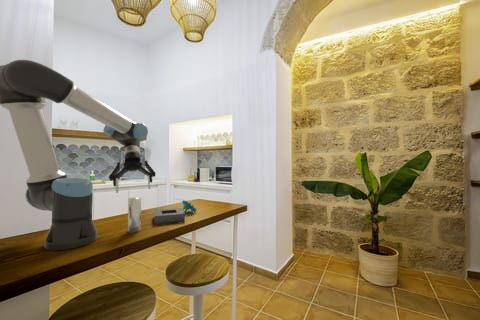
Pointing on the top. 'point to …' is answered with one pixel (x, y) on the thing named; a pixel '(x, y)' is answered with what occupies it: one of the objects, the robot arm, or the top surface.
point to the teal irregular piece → (188, 206)
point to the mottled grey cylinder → (134, 215)
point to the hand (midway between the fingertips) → (133, 189)
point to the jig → (169, 216)
